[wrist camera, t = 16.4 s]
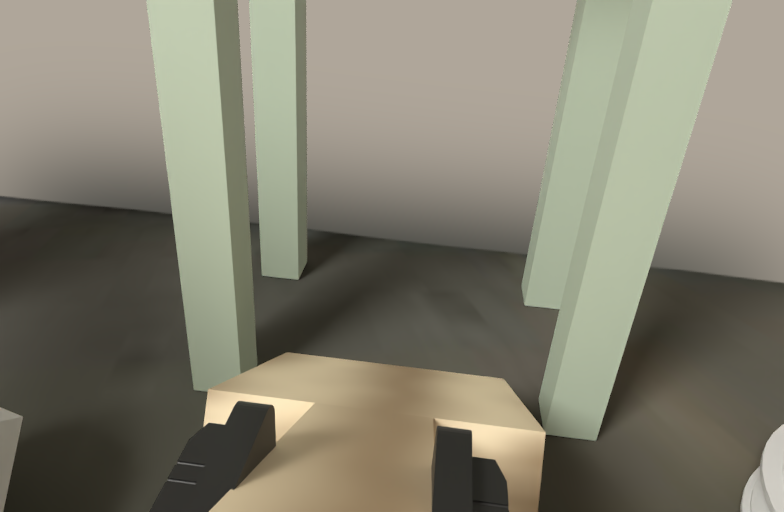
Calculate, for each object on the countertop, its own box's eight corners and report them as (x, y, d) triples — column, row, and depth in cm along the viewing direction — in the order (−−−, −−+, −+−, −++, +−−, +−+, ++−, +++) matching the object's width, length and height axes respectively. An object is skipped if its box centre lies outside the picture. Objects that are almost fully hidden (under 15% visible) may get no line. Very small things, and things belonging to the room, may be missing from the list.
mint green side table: (193, 389, 31) (74, -593, 15) (272, 257, 43) (250, -360, 27) (596, 440, 29) (911, -580, 14) (558, 289, 41) (703, -340, 26)
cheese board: (-92, 707, 8) (-65, 517, 8) (280, 406, 28) (286, 352, 28) (682, 839, 7) (701, 629, 7) (497, 434, 27) (503, 378, 27)
